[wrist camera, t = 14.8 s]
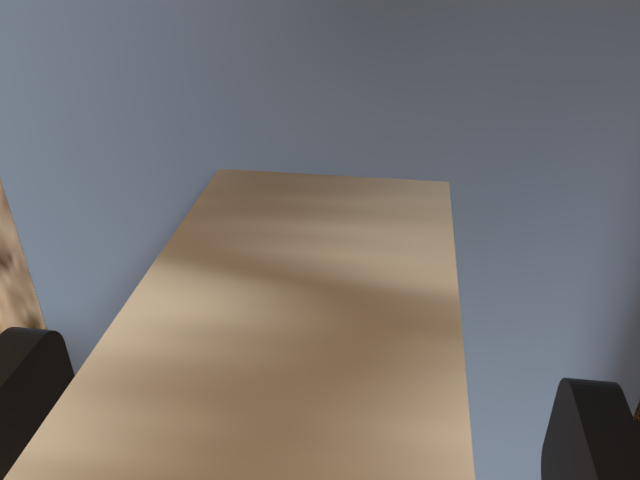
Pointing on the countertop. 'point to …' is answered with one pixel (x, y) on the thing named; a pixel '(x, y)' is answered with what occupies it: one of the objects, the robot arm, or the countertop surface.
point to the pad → (348, 161)
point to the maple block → (279, 344)
